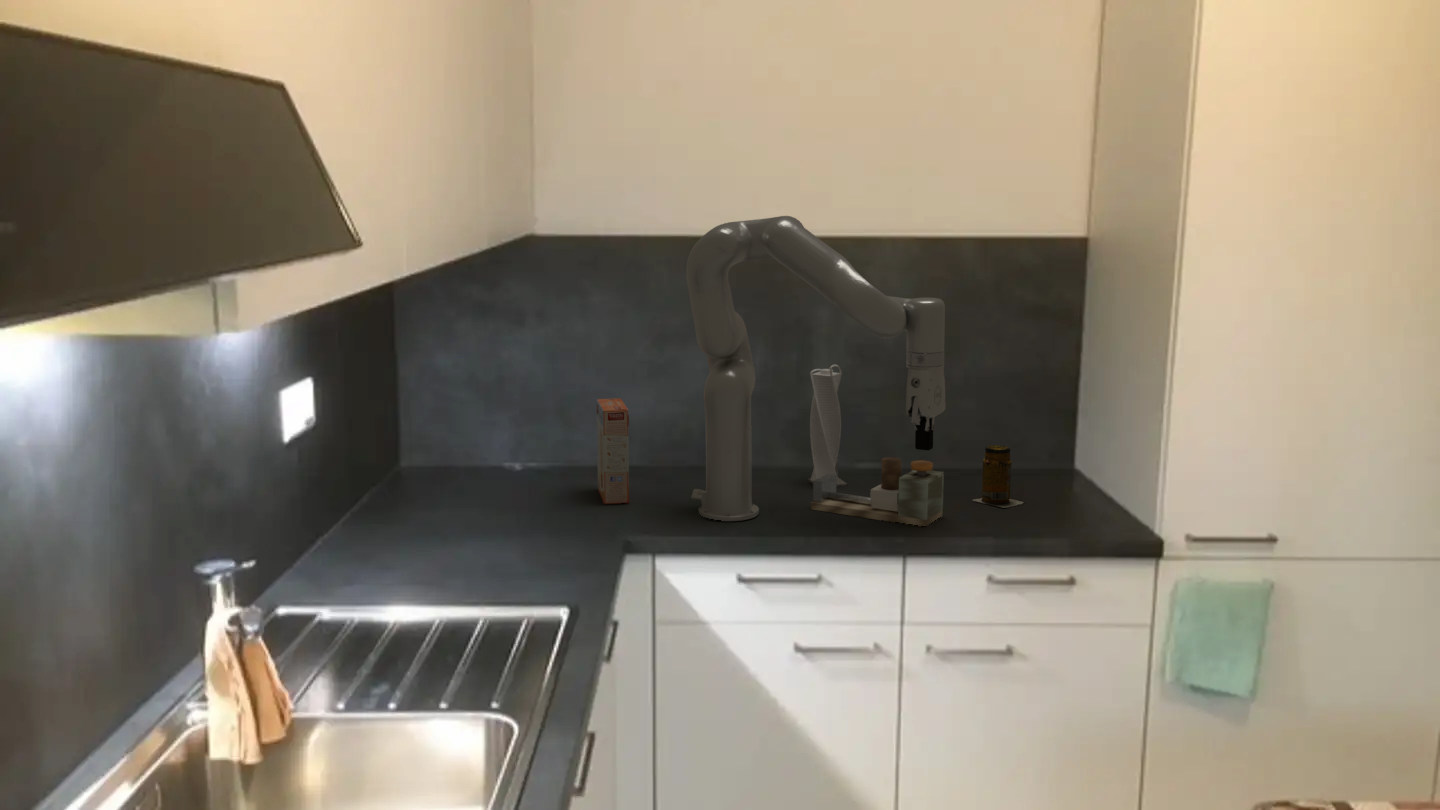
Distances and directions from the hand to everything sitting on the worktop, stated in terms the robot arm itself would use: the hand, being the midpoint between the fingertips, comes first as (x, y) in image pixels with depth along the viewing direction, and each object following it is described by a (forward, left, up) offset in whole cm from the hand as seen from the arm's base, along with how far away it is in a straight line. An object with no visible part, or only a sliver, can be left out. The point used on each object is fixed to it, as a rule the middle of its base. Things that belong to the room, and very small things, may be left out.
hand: (924, 448), depth 259 cm
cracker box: (-65, -18, -15) cm, 69 cm away
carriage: (-7, 0, -13) cm, 15 cm away
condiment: (+9, +21, -15) cm, 28 cm away
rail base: (-10, 0, -15) cm, 18 cm away
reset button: (0, 0, -6) cm, 6 cm away
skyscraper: (-30, +16, -15) cm, 38 cm away
